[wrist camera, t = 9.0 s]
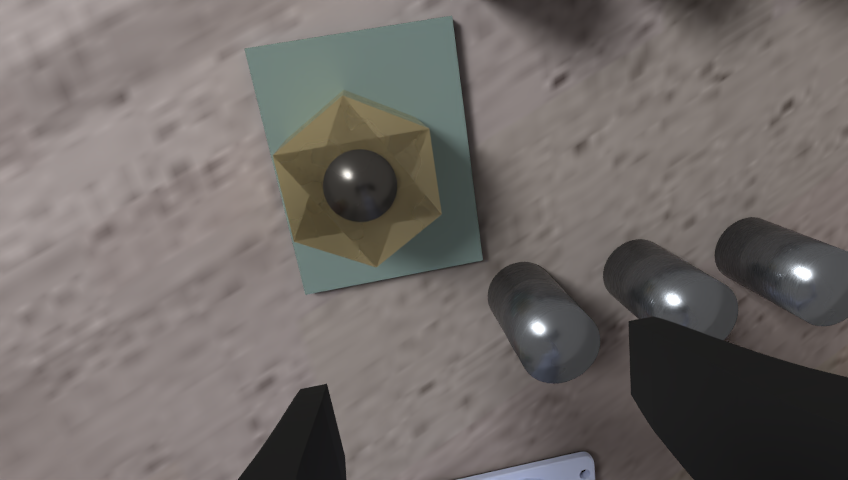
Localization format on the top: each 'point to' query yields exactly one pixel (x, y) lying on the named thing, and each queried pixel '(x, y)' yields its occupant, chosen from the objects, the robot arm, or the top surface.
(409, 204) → the brass nut
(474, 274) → the top surface
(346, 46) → the green mat
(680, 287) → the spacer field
